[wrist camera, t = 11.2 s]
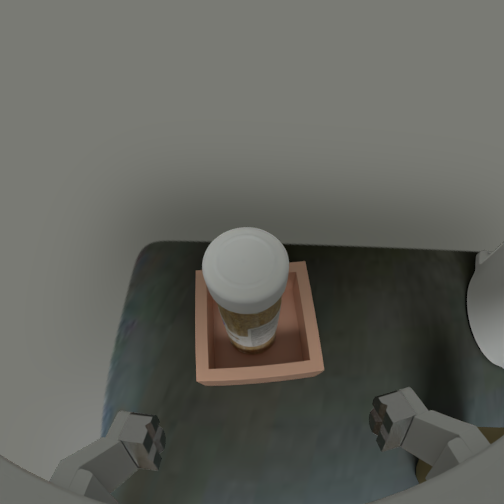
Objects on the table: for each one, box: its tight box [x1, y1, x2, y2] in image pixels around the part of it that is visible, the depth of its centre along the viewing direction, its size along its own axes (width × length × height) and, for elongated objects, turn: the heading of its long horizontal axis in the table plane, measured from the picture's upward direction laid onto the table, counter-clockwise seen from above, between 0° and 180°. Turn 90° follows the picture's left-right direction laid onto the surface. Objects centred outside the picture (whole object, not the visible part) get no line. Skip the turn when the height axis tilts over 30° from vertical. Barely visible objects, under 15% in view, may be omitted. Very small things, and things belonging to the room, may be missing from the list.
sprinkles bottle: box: [202, 227, 289, 355], centre depth 20 cm, size 5×5×14 cm
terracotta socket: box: [195, 261, 324, 386], centre depth 24 cm, size 10×10×4 cm
